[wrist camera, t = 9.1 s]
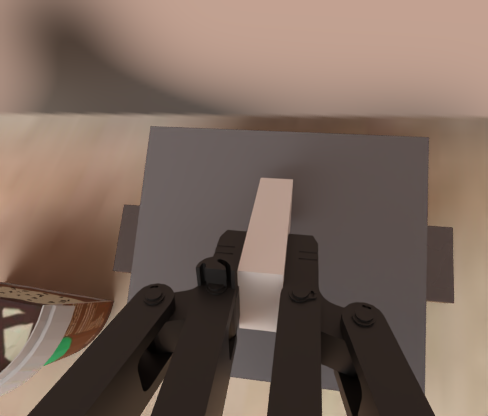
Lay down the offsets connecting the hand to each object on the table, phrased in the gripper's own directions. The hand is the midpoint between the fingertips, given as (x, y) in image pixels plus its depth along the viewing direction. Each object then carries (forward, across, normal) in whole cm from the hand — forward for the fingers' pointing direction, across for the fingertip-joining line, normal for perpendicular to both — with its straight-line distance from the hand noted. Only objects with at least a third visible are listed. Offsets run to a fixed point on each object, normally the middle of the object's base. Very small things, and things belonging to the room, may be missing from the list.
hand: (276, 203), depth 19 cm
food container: (+2, -17, -14) cm, 22 cm away
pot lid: (0, 0, -3) cm, 3 cm away
